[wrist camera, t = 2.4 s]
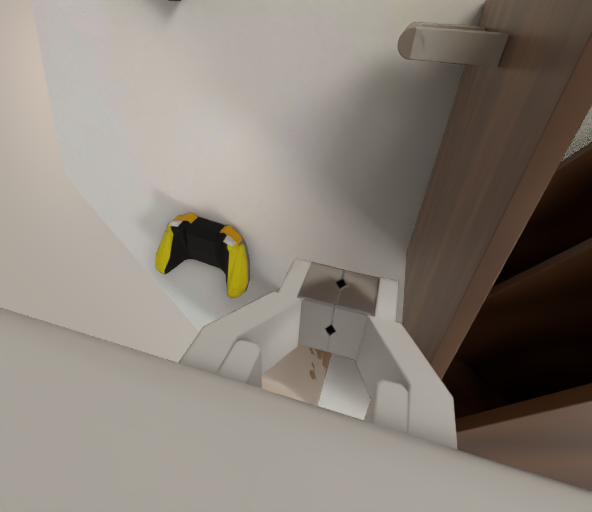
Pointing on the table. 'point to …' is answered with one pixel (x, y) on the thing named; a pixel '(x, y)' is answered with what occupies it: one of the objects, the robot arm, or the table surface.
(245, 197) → the table surface
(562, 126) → the cupboard door
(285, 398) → the robot arm
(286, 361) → the vase
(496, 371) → the cupboard
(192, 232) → the gaming controller
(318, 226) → the table surface
